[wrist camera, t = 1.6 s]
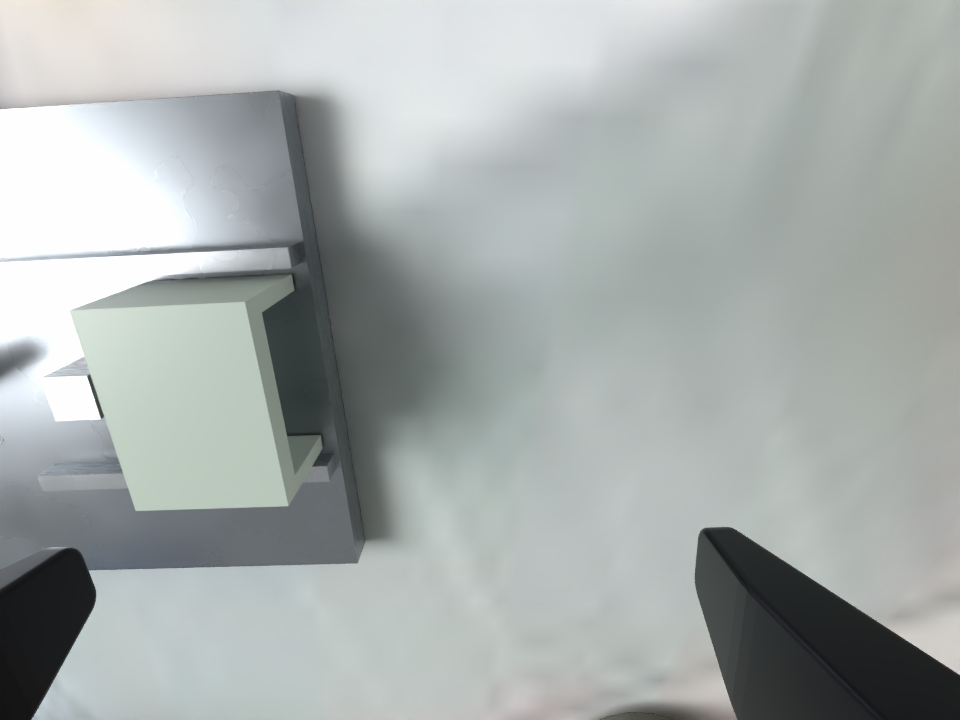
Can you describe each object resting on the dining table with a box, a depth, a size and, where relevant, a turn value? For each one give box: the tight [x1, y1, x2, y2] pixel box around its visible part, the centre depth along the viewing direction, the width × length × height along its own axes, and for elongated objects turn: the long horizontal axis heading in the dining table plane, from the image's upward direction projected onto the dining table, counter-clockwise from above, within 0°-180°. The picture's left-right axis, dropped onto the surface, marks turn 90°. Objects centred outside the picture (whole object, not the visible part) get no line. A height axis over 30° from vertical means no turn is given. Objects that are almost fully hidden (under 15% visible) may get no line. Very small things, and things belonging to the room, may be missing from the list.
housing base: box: [0, 91, 365, 570], centre depth 17 cm, size 15×16×5 cm
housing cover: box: [69, 274, 323, 511], centre depth 16 cm, size 4×6×3 cm
